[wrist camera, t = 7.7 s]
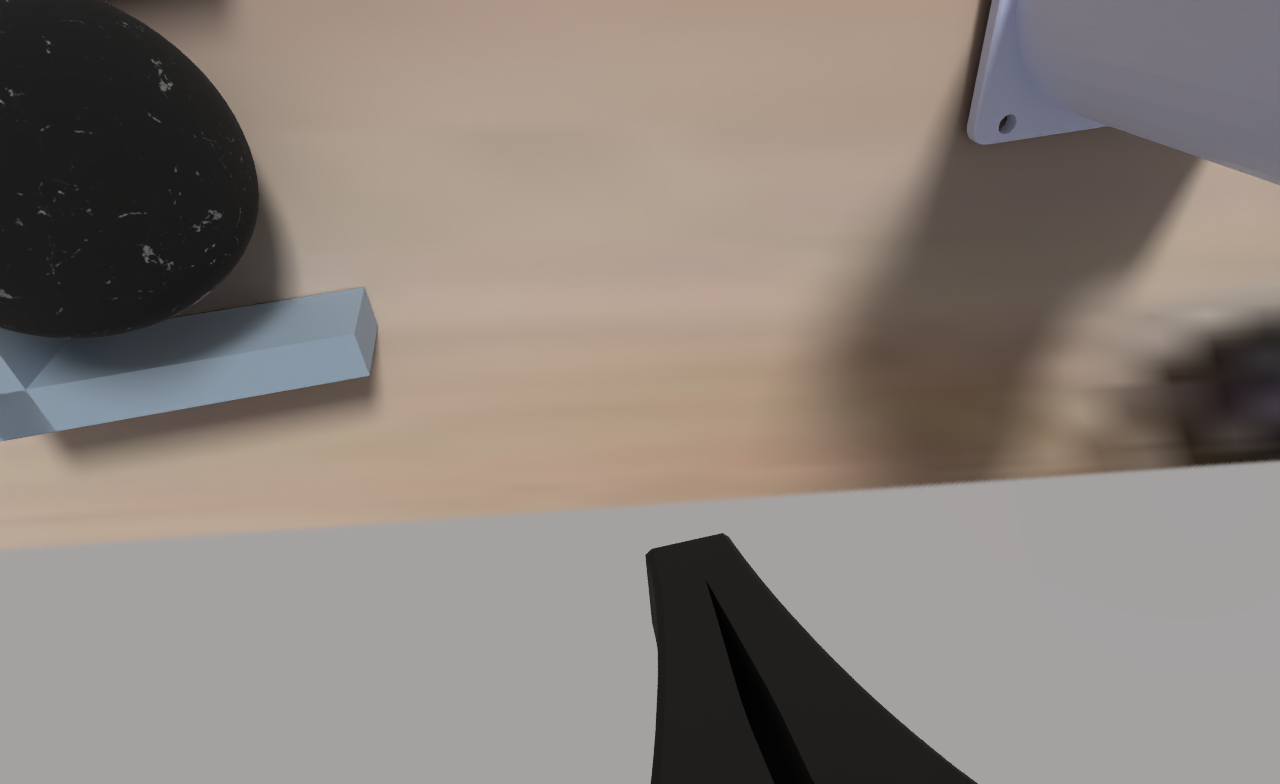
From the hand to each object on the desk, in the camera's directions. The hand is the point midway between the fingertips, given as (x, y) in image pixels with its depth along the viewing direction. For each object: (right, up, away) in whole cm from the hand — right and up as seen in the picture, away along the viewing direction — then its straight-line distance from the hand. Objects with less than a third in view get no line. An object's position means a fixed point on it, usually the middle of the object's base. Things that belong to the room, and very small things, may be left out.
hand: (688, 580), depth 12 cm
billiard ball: (-12, +9, +4) cm, 16 cm away
